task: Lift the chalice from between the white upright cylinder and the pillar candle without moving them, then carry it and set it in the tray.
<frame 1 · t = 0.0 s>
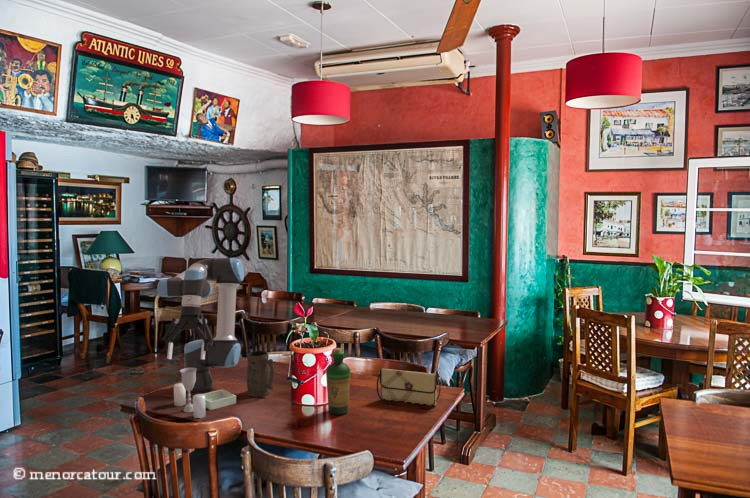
hand: (186, 359, 221), 28 cm above the table, tool tilted 20°, fingers open, 13 cm apart
white upright cylinder: (180, 404, 249), on the table
chalice: (189, 410, 241), on the table
pillar candle: (199, 416, 234), on the table
bottle: (338, 412, 239), on the table
tray: (217, 403, 250), on the table
clutch purse: (407, 405, 248), on the table
beer stein: (262, 394, 263), on the table
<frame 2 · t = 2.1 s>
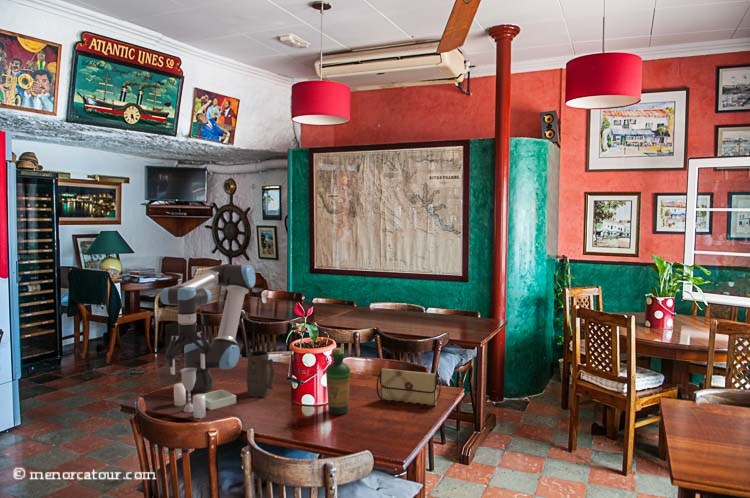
hand: (188, 371, 240), 18 cm above the table, tool pointing down, fingers open, 13 cm apart
nothing on the table moved.
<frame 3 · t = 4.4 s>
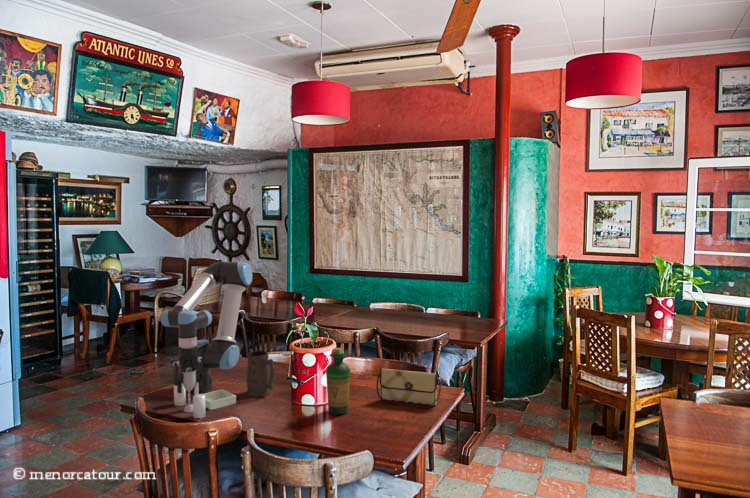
hand: (189, 398, 241), 5 cm above the table, tool pointing down, fingers closed on chalice, 6 cm apart
chalice: (189, 410, 241), on the table, touching gripper
everything else where it was.
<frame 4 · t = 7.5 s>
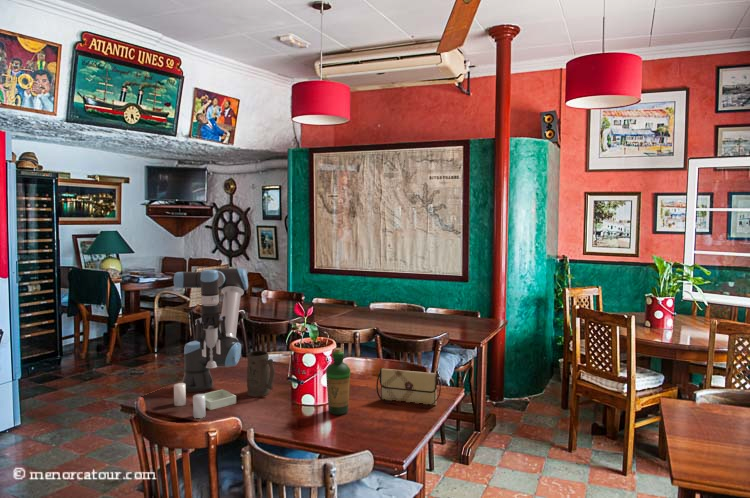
hand: (211, 354, 247), 23 cm above the table, tool pointing down, fingers closed on chalice, 6 cm apart
chalice: (211, 367, 247), point 17 cm above the table, touching gripper
everything else where it was.
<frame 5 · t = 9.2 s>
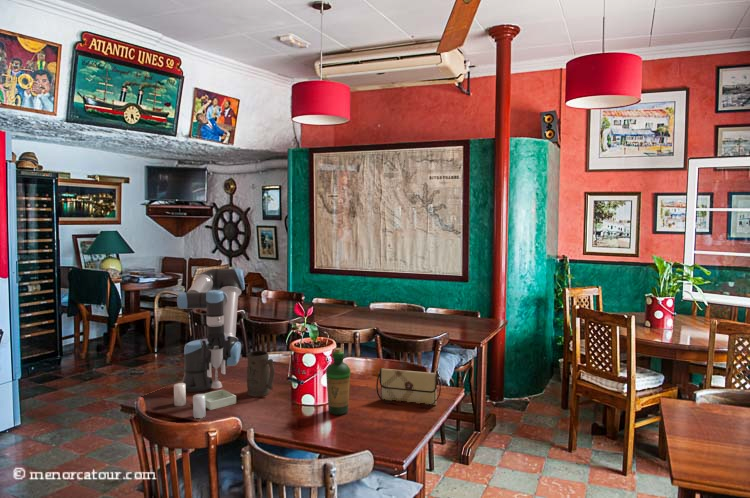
hand: (216, 375, 249), 13 cm above the table, tool pointing down, fingers closed on chalice, 6 cm apart
chalice: (216, 387, 249), point 7 cm above the table, touching gripper
everything else where it was.
when the fingers open (8 cm above the table, at t = 10.7 s): chalice drops 2 cm, resting on tray.
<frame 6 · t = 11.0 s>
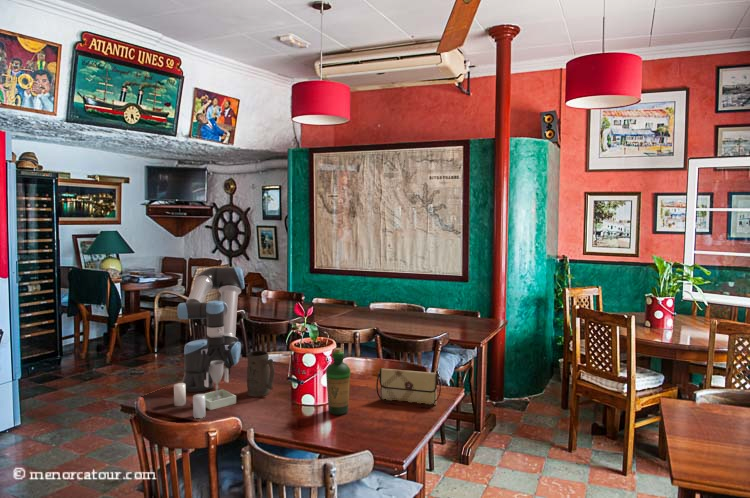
hand: (216, 384, 249), 9 cm above the table, tool pointing down, fingers open, 9 cm apart
chalice: (217, 401, 250), point 1 cm above the table, touching tray
everything else where it was.
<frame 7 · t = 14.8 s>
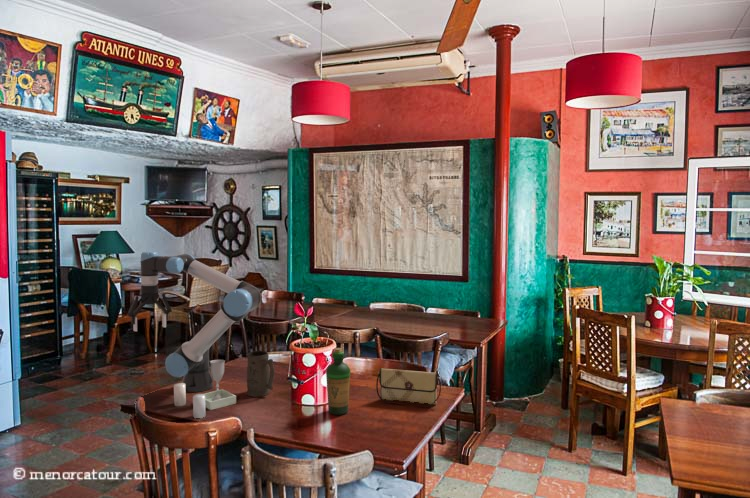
hand: (150, 329, 259), 32 cm above the table, tool pointing down, fingers open, 13 cm apart
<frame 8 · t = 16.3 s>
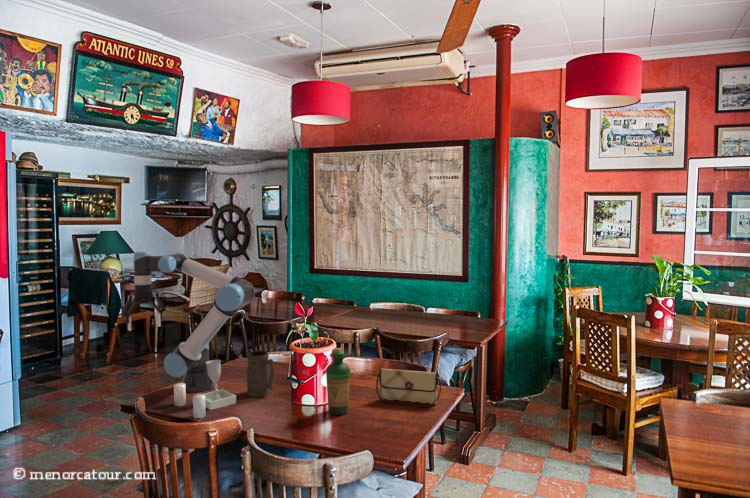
hand: (144, 328, 261), 32 cm above the table, tool pointing down, fingers open, 13 cm apart
at the end: chalice inside the target area on the tray (0.1 cm from its centre), point 0.6 cm above the tray's base; white upright cylinder moved 0.0 cm from its start; pillar candle moved 0.0 cm from its start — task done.
